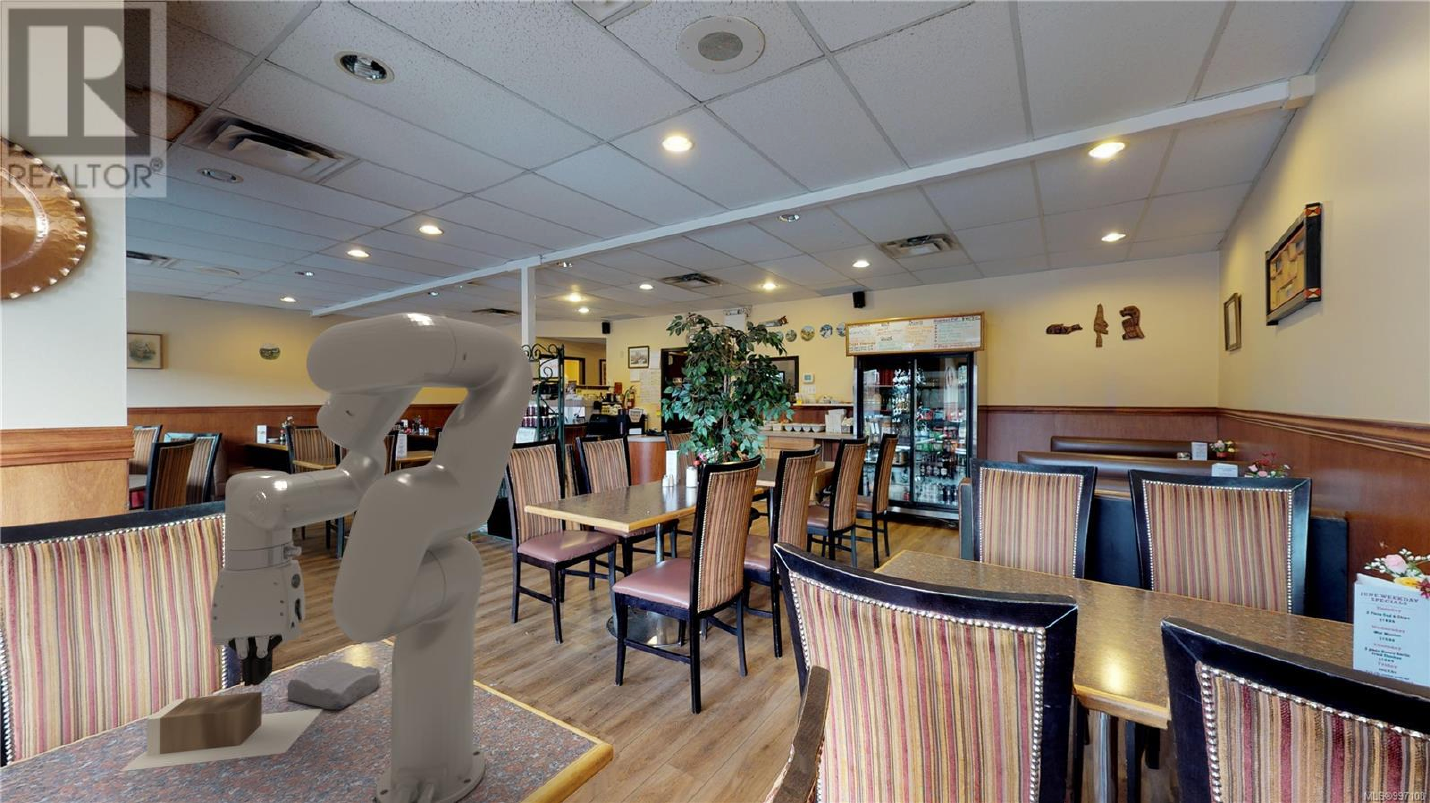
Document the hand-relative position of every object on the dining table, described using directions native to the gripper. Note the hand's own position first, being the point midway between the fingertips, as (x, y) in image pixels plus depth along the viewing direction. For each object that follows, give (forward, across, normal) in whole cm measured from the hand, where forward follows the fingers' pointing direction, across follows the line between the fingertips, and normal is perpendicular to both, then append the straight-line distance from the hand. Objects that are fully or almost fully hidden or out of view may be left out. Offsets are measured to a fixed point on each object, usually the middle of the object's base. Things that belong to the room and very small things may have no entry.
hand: (257, 680), depth 79 cm
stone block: (+8, -6, -10) cm, 15 cm away
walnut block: (+5, +1, 0) cm, 5 cm away
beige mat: (+8, +3, 0) cm, 9 cm away
